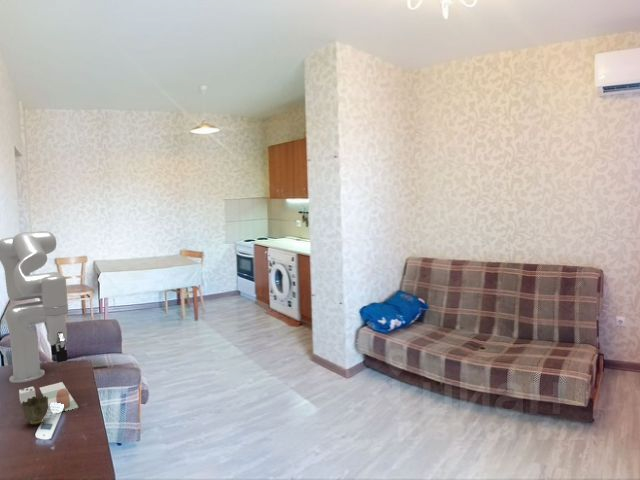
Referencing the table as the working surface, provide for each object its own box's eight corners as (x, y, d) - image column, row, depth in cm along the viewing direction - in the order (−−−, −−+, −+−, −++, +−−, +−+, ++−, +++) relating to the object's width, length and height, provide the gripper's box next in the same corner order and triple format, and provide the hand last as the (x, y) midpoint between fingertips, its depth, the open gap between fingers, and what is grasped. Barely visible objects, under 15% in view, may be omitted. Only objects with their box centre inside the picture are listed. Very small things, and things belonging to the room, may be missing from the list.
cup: (37, 429, 142) (34, 406, 141) (17, 428, 143) (15, 404, 142) (55, 418, 149) (53, 395, 148) (36, 417, 150) (34, 394, 150)
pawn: (56, 406, 157) (54, 389, 157) (68, 403, 160) (67, 386, 159) (58, 410, 154) (56, 392, 153) (71, 406, 157) (69, 389, 156)
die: (19, 401, 163) (18, 388, 163) (34, 397, 166) (33, 385, 166) (21, 405, 160) (20, 392, 159) (36, 401, 163) (34, 388, 162)
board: (39, 388, 174) (39, 387, 174) (62, 382, 179) (62, 382, 179) (52, 415, 151) (52, 414, 151) (78, 407, 156) (78, 407, 156)
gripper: (39, 308, 158) (43, 354, 160) (47, 317, 145) (51, 367, 146) (63, 304, 163) (66, 349, 164) (73, 313, 150) (76, 361, 151)
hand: (59, 357), depth 155 cm, fingers open, 9 cm apart
